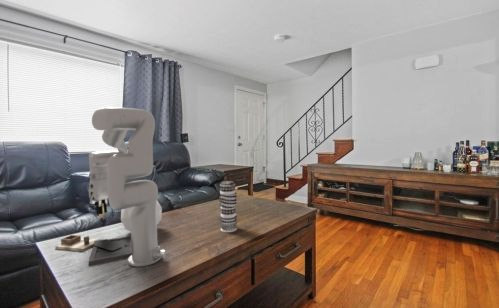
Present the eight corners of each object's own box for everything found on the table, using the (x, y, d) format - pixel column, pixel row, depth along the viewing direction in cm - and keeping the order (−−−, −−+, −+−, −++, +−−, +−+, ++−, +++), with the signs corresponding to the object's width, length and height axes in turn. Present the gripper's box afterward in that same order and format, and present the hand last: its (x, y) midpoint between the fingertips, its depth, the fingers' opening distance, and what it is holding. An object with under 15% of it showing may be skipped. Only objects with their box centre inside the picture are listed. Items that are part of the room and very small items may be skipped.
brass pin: (105, 216, 127) (104, 202, 127) (102, 218, 125) (101, 204, 124) (101, 216, 128) (100, 202, 127) (98, 217, 125) (97, 204, 125)
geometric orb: (144, 240, 136) (155, 205, 146) (162, 236, 123) (173, 198, 134) (108, 231, 125) (123, 193, 136) (123, 224, 112) (138, 184, 123)
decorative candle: (237, 232, 126) (235, 183, 125) (218, 232, 127) (217, 183, 125) (238, 226, 136) (237, 180, 134) (221, 226, 136) (219, 180, 134)
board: (101, 242, 118) (100, 233, 118) (82, 251, 108) (82, 242, 108) (75, 239, 121) (75, 231, 121) (55, 248, 111) (54, 239, 111)
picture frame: (94, 245, 115) (88, 265, 96) (94, 240, 115) (88, 260, 96) (133, 238, 122) (134, 256, 103) (133, 234, 122) (134, 251, 103)
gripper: (92, 179, 117) (95, 218, 117) (117, 174, 132) (119, 209, 133) (78, 179, 118) (81, 217, 119) (105, 174, 134) (107, 208, 135)
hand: (101, 212), depth 126 cm, fingers closed on brass pin, 2 cm apart
